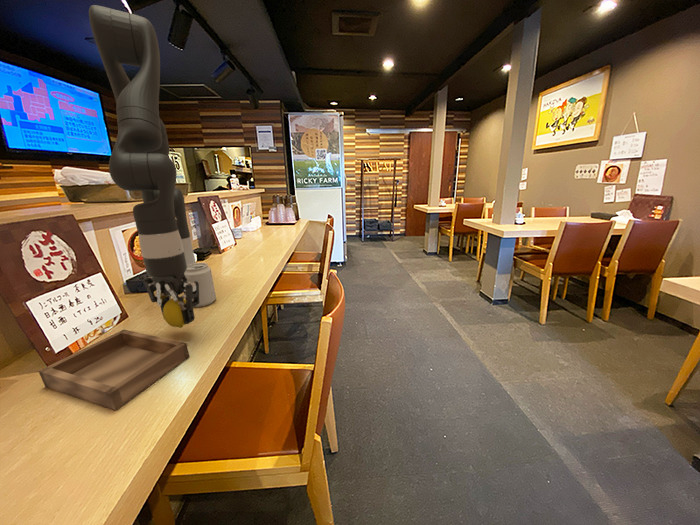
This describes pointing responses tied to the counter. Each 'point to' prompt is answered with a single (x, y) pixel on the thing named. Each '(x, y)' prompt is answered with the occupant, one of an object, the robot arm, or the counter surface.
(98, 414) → the counter surface
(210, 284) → the can
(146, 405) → the counter surface
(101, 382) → the tray
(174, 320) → the lemon
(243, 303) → the counter surface
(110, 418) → the counter surface
